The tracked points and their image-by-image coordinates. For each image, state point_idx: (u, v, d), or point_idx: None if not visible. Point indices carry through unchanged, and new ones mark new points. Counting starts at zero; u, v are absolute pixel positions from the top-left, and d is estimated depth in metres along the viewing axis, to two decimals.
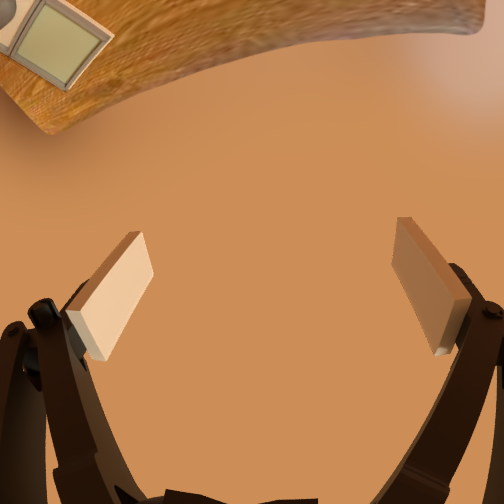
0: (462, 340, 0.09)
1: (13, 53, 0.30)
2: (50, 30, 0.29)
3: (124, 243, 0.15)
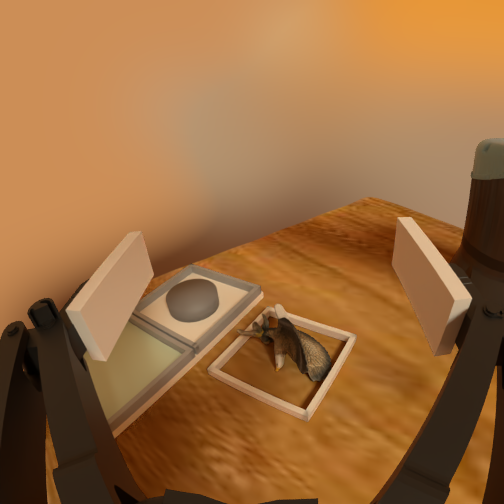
0: (462, 340, 0.09)
1: None
2: (142, 359, 0.34)
3: (124, 243, 0.15)
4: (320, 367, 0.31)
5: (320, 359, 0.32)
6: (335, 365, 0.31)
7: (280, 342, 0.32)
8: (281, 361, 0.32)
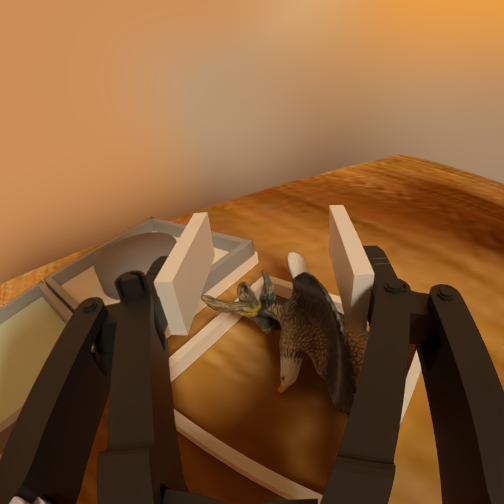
0: (370, 320, 0.11)
1: (41, 286, 0.22)
2: (36, 358, 0.16)
3: (194, 223, 0.16)
4: None
5: None
6: (405, 389, 0.13)
7: (293, 330, 0.15)
8: (293, 372, 0.14)
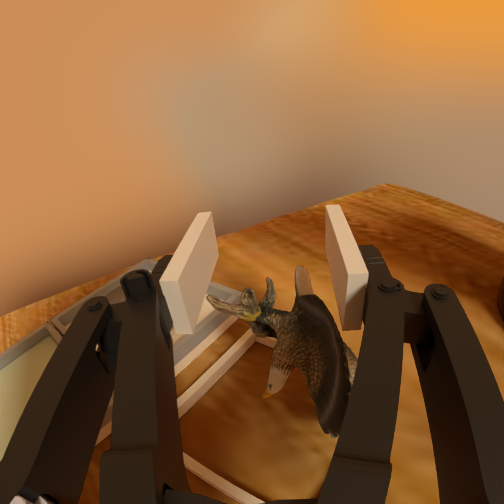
0: (364, 319, 0.11)
1: (49, 328, 0.24)
2: None
3: (198, 222, 0.16)
4: None
5: None
6: None
7: (290, 345, 0.15)
8: (280, 382, 0.15)
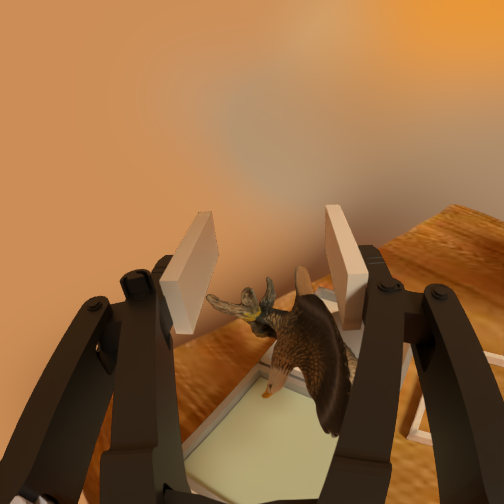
0: (364, 319, 0.11)
1: (265, 370, 0.27)
2: (314, 437, 0.22)
3: (198, 222, 0.16)
4: None
5: None
6: None
7: (290, 345, 0.15)
8: (280, 382, 0.15)
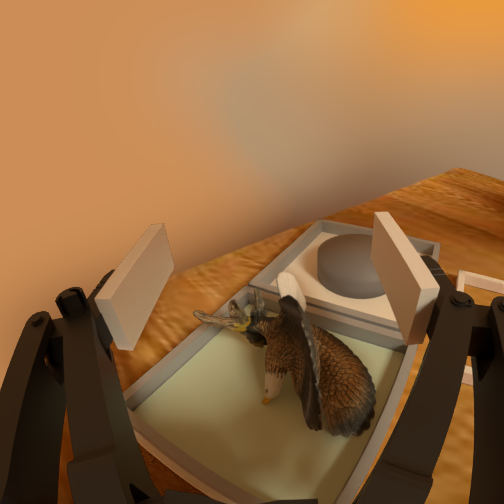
0: (432, 331, 0.10)
1: None
2: None
3: (147, 235, 0.15)
4: (352, 409, 0.14)
5: (356, 391, 0.14)
6: None
7: (277, 348, 0.15)
8: (275, 386, 0.15)
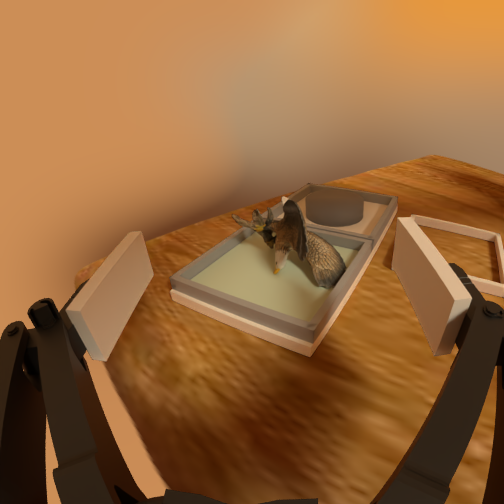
0: (462, 340, 0.09)
1: (263, 220, 0.34)
2: None
3: (123, 243, 0.15)
4: (330, 271, 0.25)
5: (331, 261, 0.25)
6: (501, 252, 0.26)
7: (282, 234, 0.27)
8: (282, 259, 0.26)
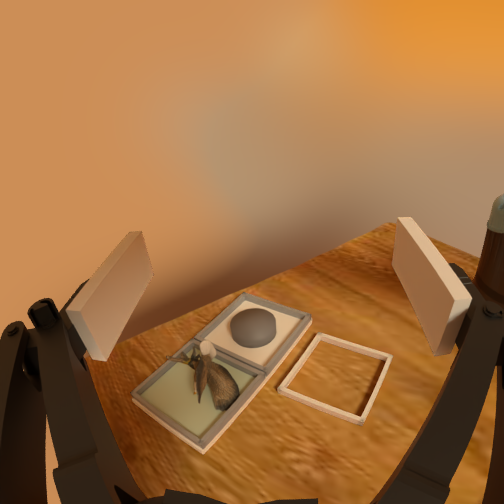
0: (462, 340, 0.09)
1: (196, 342, 0.46)
2: None
3: (123, 243, 0.15)
4: (225, 400, 0.36)
5: (227, 393, 0.37)
6: (379, 380, 0.37)
7: None
8: None
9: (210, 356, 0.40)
